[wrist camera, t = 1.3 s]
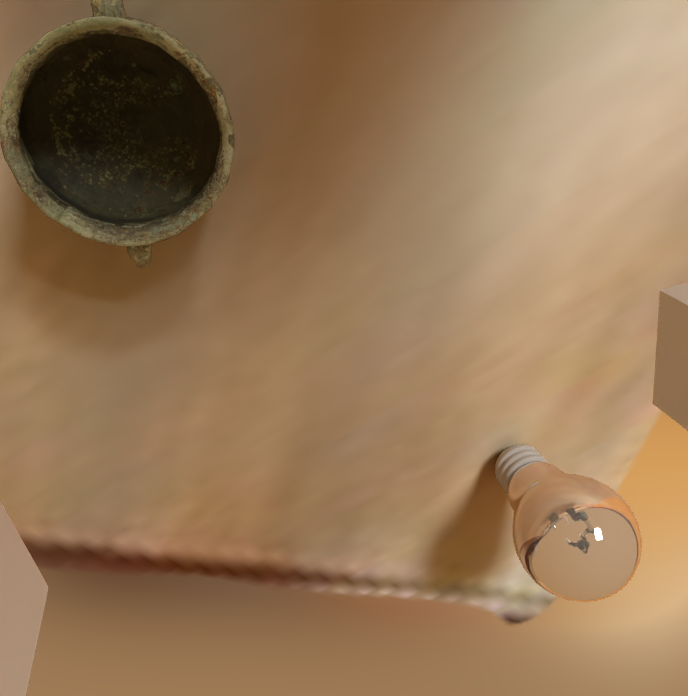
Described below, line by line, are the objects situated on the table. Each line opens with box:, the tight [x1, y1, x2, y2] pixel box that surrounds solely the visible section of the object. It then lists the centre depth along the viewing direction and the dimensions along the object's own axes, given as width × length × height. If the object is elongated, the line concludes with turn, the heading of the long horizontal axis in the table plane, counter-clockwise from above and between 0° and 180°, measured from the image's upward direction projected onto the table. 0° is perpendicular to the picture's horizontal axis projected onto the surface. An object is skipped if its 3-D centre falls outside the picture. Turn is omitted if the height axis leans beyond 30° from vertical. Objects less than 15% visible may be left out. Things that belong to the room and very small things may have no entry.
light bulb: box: [495, 445, 642, 602], centre depth 40 cm, size 7×7×12 cm
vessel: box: [0, 0, 234, 268], centre depth 28 cm, size 12×9×6 cm
